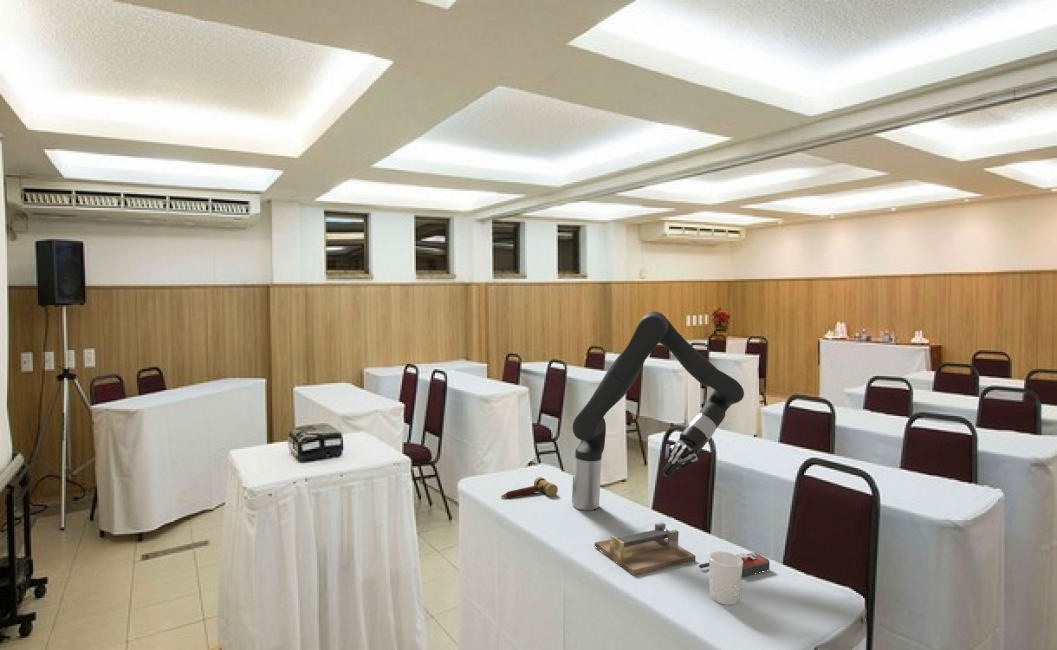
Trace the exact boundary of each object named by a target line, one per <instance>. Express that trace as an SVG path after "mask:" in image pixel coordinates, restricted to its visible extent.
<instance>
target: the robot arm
mask: <svg viewBox="0 0 1057 650" xmlns="http://www.w3.org/2000/svg"><path fill="white" fill-rule="evenodd" d="M628 342H629V343H628V344H626V347H625V348H624V349H623V350H622V352H621V353H620V354H619V355H618V356H617V357H616V359H615V360H614V361H613V363H612V364H611V365H610V367H609V368H608V370H607V371H606V373H605V374H604V376H603V378H602V380H601V381H600V383H599V384H598V386H597V388H596V389H595V391H594V392H593V395H592V396H591V397H590V399H589V401H587V404H586V405H584V407H583V408H582V409H581V411H579V413H578V414H577V416H575V418H574V420H573V424H572V433H573V435H574V437H575V438H576V439H578V440H580V442H579V444H578V446H577V447H576V449H575V453H574V455H575V456H574V474H573V475H574V476H572V490H571V491H572V492H571V494H572V495H571V503H572V506H573V507H574V508H575V509H578V510H581V509H582V510H581V511H595V510H594V509H596V510H598V509H599V508H600V497H601V477H602V475H601V473H602V456H603V453H604V450H605V445H606V444H605V442H606V434H607V433H606V432H607V425H606V424H607V423H606V419H605V415H607V413H608V412H609V410H611V409H612V408H613V407H614V406H615V405H616V404H617V403H619V401H620V400H621V399H623V397H625V395H626V394H627V393H628V392H629V390H630V389H631V387H633V384H634V383H635V381H636V379H637V378H638V376H639V374H640V373H641V370H642V367H643V366H644V363H645V361H646V360H647V358H648V357H649V355H650V354H651V353H652V352H653V350H655V348H656V347H657V345H659V343H660V344H661V345H662V346H664V347H665V348H666V349H667V350H668V351H669V352H670V353H671V354H672V355H673V356H674V358H676V359H677V361H678V362H679V364H680V365H681V366H682V367H683V368H684V369H685V371H686V372H687V373H688V374H689V375H690V376H692V378H694V379H695V380H696V381H697V382H698V383H700V385H702V386H703V387H710V388H712V389H713V391H712V392H711V394H710V395H709V398H708V399H707V401H706V403H705V405H703V406H702V407H701V409H700V411H699V412H698V413H697V414H696V415H695V416H694V417H693V418H692V419H691V420H690V421H689V423H688V424H687V425H686V426H685V428H684V429H683V431H682V432H681V433H680V435H679V439H678V440H676V441H675V442H674V444H672V445H670V443H669V444H668V443H667V444H666V446H665V456H664V459H665V460H666V461H667V463H666V464H665V465H664V467H663V468H662V469H661V474H662V475H663V476H664V477H666V478H669V477H671V476H672V475H673V474H674V472H675V471H676V470H678V469H680V470H684V469H685V468H688V467H691V466H692V465H695V464H696V463H699V460H700V459H699V458H698V457H697V454H698V452H701V450H703V448H704V447H705V445H706V444H707V443H708V442H709V440H710V439H711V438H712V437H713V436H714V434H715V431H716V430H717V428H718V427H719V426H720V425H721V423H722V422H723V420H724V419H725V417H726V412H727V410H729V408H730V407H731V406H732V405H735V404H737V403H739V402H741V401H742V400H743V399H744V396H745V390H744V388H743V386H742V385H741V384H740V382H739V381H737V380H736V379H735V378H733V377H732V376H730V375H728V374H727V373H725V372H724V371H722V370H720V369H718V368H717V366H715V365H714V364H713V363H712V362H710V361H709V359H707V358H706V357H705V356H704V355H702V353H700V352H699V351H698V350H697V349H696V348H694V346H692V345H691V344H690V342H688V341H687V340H686V339H685V338H684V337H683V336H682V335H681V334H680V333H679V332H678V330H677V329H676V328H675V327H674V326H673V324H672V323H671V321H669V319H668V318H667V317H666V315H664V314H663V313H662V312H659V311H650V312H647V313H646V314H645V315H643V317H642V318H640V320H639V322H638V324H637V326H636V327H635V331H634V332H633V335H632V336H631V338H630V341H628ZM598 507H599V508H598ZM597 508H598V509H597Z"/></svg>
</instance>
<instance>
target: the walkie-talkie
mask: <svg viewBox="0 0 1057 650" xmlns="http://www.w3.org/2000/svg"><path fill="white" fill-rule="evenodd" d="M735 555H736V556H738V557H740V558H741V559H742V560H743V567H742V577H741V579H742V578H746V577H750V575H751V576H754V574H755V573H758V574H760V573H759V572H762V571H766V572H768V571H767V570H769V571H770V563H771V561H770V560H769V558H766V557H765V556H762V555H760V554H759V553H757V552H749V553H744V552H743V553H739V554H735ZM698 567H699V568H700V569H704V568H709V562H705V563H700V564H699V565H698ZM762 573H763V572H762ZM755 575H756V574H755Z"/></svg>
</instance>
